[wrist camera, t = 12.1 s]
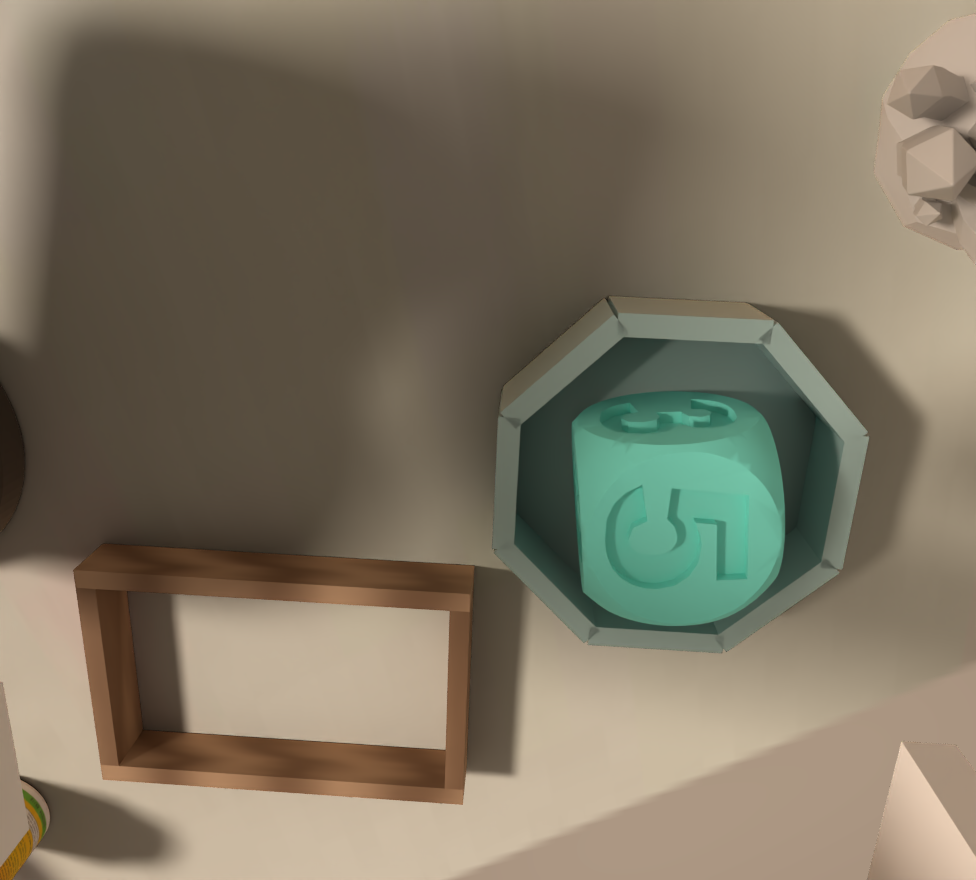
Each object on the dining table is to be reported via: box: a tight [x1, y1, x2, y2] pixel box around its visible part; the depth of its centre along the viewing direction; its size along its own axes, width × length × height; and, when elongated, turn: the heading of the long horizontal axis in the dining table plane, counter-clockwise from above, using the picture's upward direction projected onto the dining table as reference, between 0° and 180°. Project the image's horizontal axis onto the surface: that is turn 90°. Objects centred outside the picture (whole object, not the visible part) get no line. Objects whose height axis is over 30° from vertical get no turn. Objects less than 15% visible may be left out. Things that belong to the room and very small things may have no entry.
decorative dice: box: [571, 391, 785, 626], centre depth 36 cm, size 8×8×8 cm
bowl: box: [492, 296, 869, 653], centre depth 38 cm, size 16×16×4 cm
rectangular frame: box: [73, 544, 474, 805], centre depth 44 cm, size 20×13×3 cm, turn 88°
